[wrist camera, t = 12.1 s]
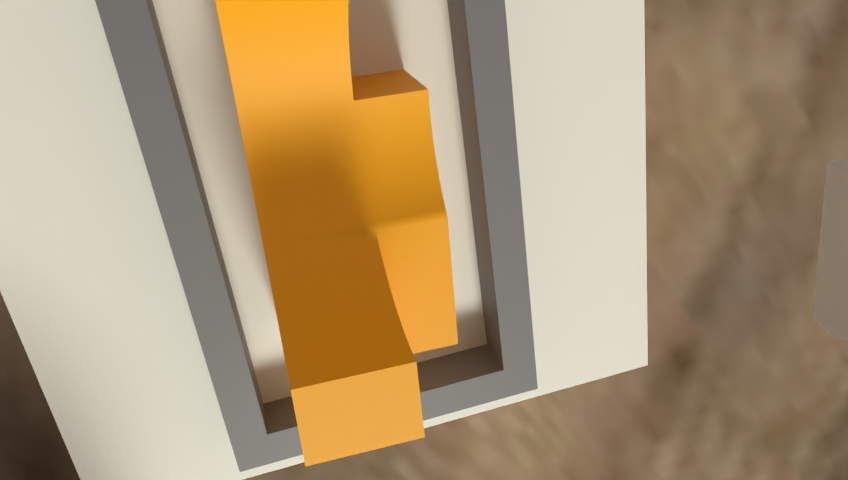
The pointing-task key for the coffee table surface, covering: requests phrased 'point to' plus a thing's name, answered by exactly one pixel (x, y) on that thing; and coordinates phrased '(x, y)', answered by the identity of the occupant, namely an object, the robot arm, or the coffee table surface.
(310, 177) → the pipe clamp
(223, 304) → the mounting board
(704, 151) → the coffee table surface
